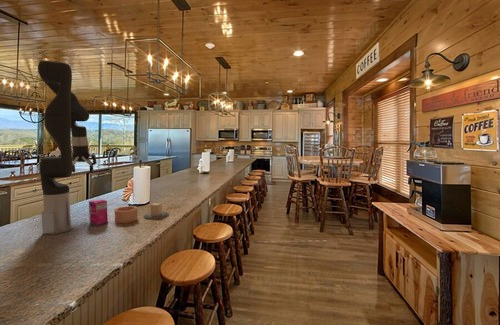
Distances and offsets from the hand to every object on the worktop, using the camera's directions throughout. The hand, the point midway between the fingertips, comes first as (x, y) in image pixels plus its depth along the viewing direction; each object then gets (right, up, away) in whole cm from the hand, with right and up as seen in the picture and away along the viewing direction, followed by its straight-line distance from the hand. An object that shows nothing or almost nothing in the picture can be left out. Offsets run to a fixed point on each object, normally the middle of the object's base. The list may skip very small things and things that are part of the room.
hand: (82, 171), depth 142 cm
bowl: (+33, -24, -16) cm, 44 cm away
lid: (+46, -24, -8) cm, 52 cm away
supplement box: (+23, -25, -22) cm, 40 cm away
